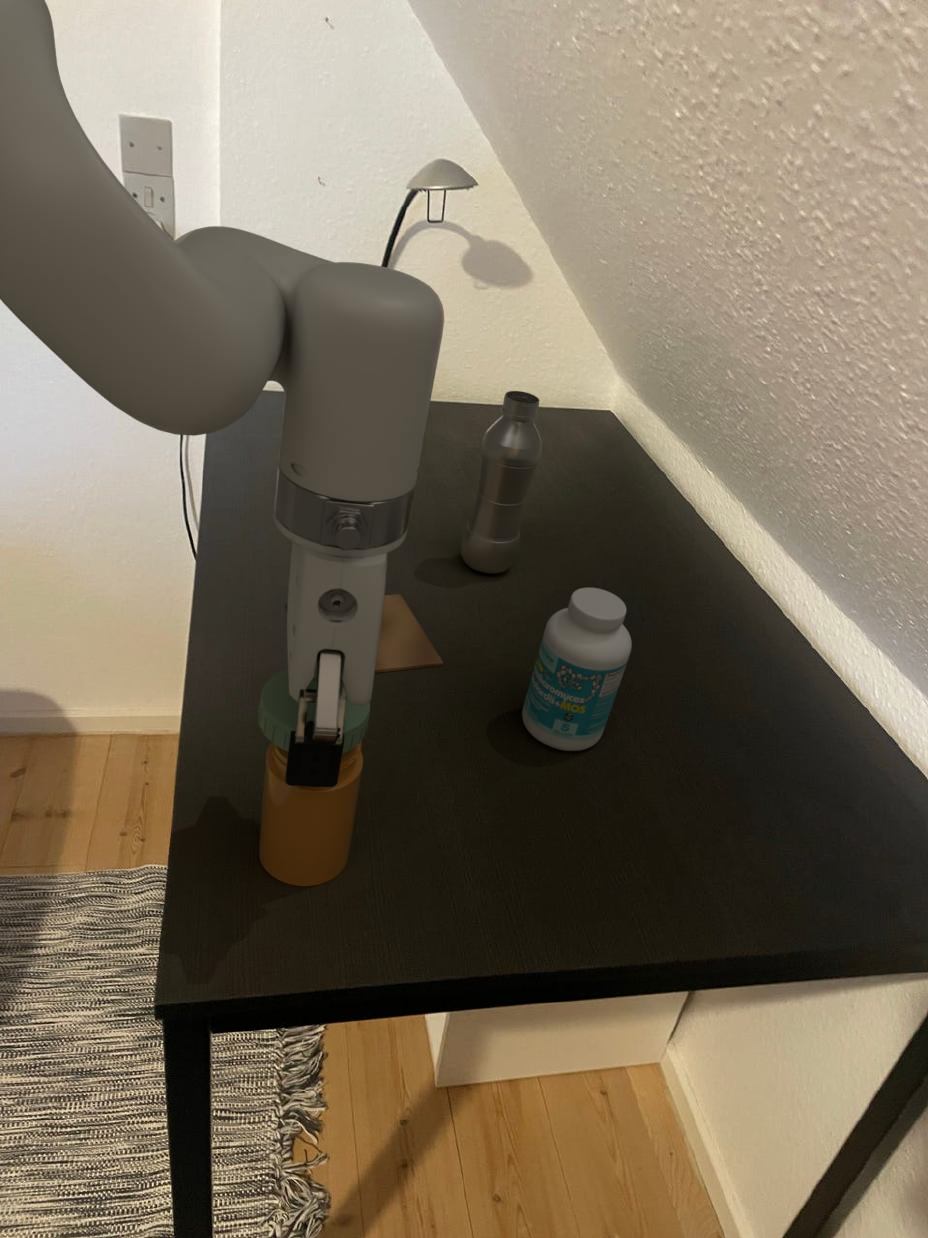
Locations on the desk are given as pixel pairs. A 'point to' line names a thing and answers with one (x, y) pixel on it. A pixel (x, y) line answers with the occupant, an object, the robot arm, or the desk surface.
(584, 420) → the desk surface
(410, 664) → the coaster
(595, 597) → the pill bottle
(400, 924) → the desk surface
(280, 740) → the jam lid
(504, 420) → the plastic bottle
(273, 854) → the jam jar
